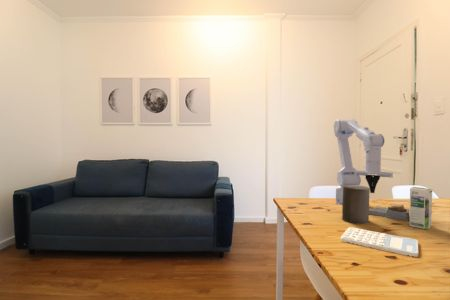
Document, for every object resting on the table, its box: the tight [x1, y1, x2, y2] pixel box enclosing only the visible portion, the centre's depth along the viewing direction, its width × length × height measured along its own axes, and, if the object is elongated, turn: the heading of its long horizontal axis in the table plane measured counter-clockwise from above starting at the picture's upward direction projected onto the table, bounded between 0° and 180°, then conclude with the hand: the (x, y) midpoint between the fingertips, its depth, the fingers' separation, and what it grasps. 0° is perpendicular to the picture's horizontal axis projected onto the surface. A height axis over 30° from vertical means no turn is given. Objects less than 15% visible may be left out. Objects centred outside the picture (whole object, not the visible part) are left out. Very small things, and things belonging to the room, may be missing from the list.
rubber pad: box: [374, 205, 388, 210], centre depth 120 cm, size 7×7×1 cm
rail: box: [369, 206, 410, 222], centre depth 110 cm, size 18×8×4 cm, turn 54°
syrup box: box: [409, 186, 433, 231], centre depth 96 cm, size 6×6×14 cm
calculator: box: [340, 226, 419, 258], centre depth 81 cm, size 13×20×2 cm, turn 53°
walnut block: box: [389, 204, 406, 212], centre depth 107 cm, size 4×4×4 cm
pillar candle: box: [341, 183, 371, 225], centre depth 103 cm, size 10×10×15 cm
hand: (372, 192), depth 112 cm, fingers closed
